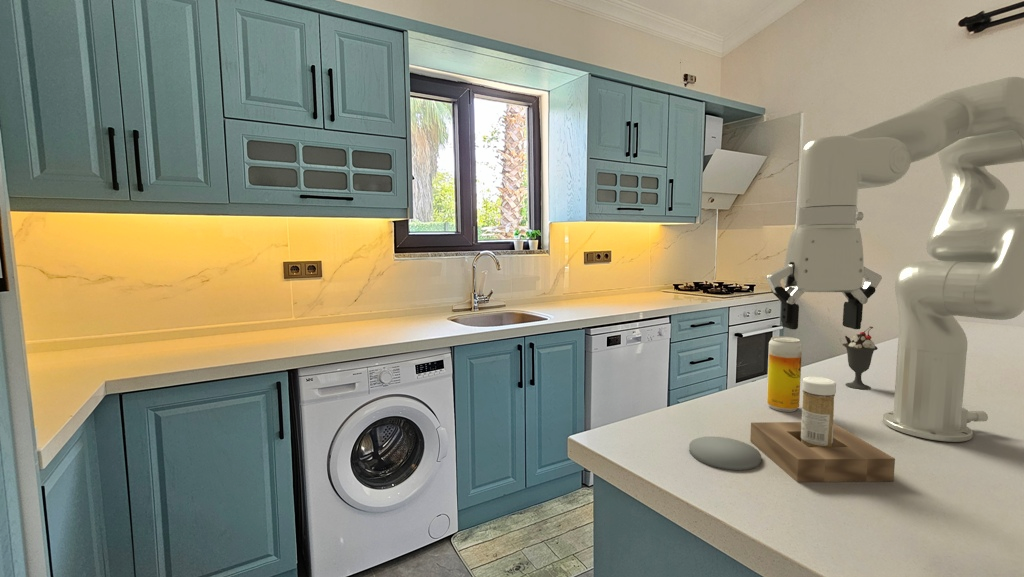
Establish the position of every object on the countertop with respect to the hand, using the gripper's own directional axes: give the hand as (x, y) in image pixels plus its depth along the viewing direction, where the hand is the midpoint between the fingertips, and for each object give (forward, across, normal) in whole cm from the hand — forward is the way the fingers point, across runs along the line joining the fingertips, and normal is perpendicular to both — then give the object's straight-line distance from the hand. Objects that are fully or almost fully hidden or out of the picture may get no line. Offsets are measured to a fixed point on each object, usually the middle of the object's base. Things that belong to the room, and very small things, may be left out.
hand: (820, 327), depth 74 cm
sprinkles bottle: (+22, 0, 0) cm, 22 cm away
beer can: (+22, -8, -24) cm, 34 cm away
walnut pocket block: (+22, 0, 0) cm, 22 cm away
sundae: (+22, -34, -38) cm, 56 cm away
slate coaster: (+22, +14, -2) cm, 26 cm away
